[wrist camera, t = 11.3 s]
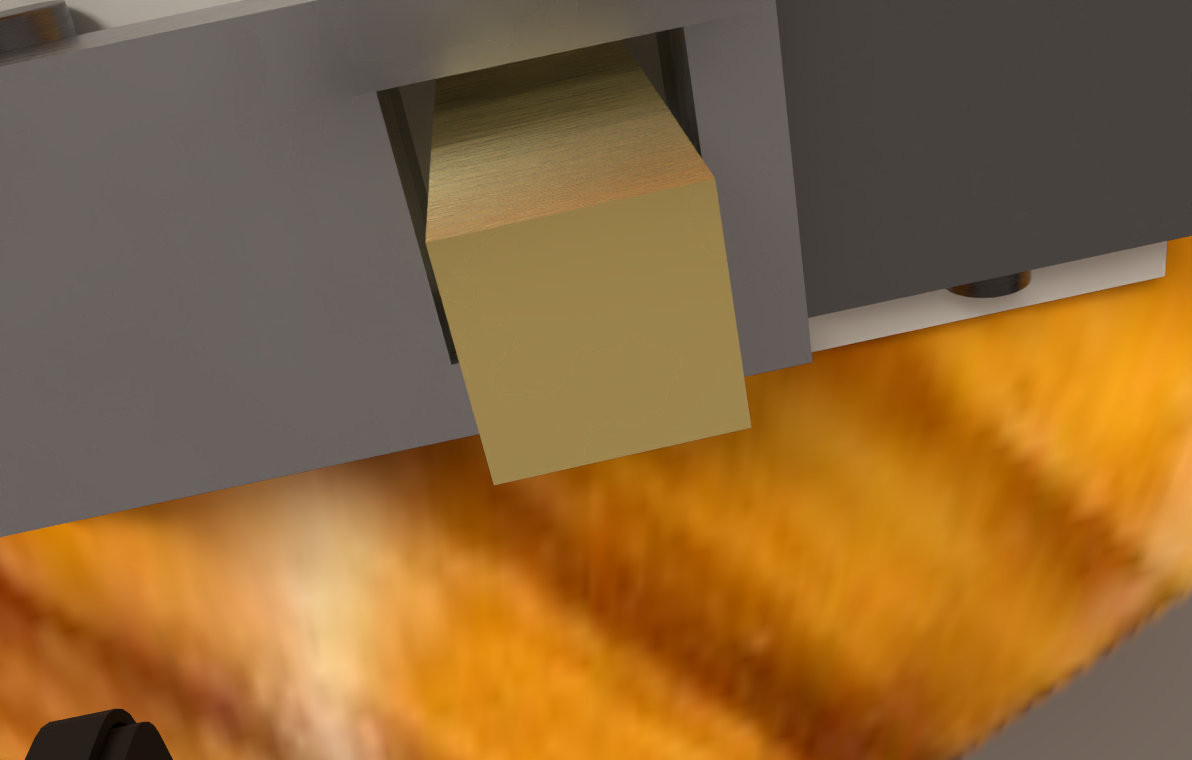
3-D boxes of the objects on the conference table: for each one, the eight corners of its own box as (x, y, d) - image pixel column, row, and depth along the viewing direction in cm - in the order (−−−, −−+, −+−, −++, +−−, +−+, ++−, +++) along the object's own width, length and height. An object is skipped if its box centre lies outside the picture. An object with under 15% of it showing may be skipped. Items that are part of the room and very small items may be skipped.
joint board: (1175, -322, 23) (1204, -326, 22) (1143, 261, 29) (1164, 276, 28) (-232, -28, 23) (-261, -22, 22) (36, 499, 29) (23, 521, 28)
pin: (619, 36, 24) (715, 178, 15) (650, 210, 26) (751, 428, 17) (436, 76, 24) (425, 243, 15) (480, 248, 26) (494, 485, 17)
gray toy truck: (1174, -236, 23) (1306, -240, 19) (1148, 224, 28) (1250, 288, 24) (-195, 51, 22) (-316, 101, 19) (17, 467, 27) (-48, 568, 24)
